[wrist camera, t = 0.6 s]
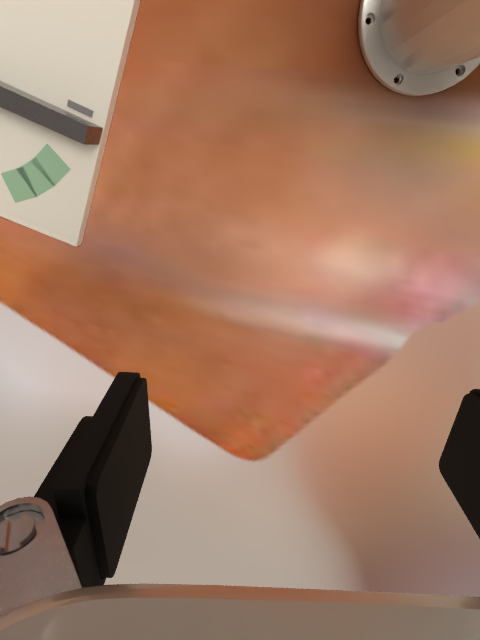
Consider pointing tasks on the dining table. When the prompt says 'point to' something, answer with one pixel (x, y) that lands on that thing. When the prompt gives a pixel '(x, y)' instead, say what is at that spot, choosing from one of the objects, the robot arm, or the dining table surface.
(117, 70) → the dial plate
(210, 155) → the dining table surface
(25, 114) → the grey lever handle
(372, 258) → the dining table surface
